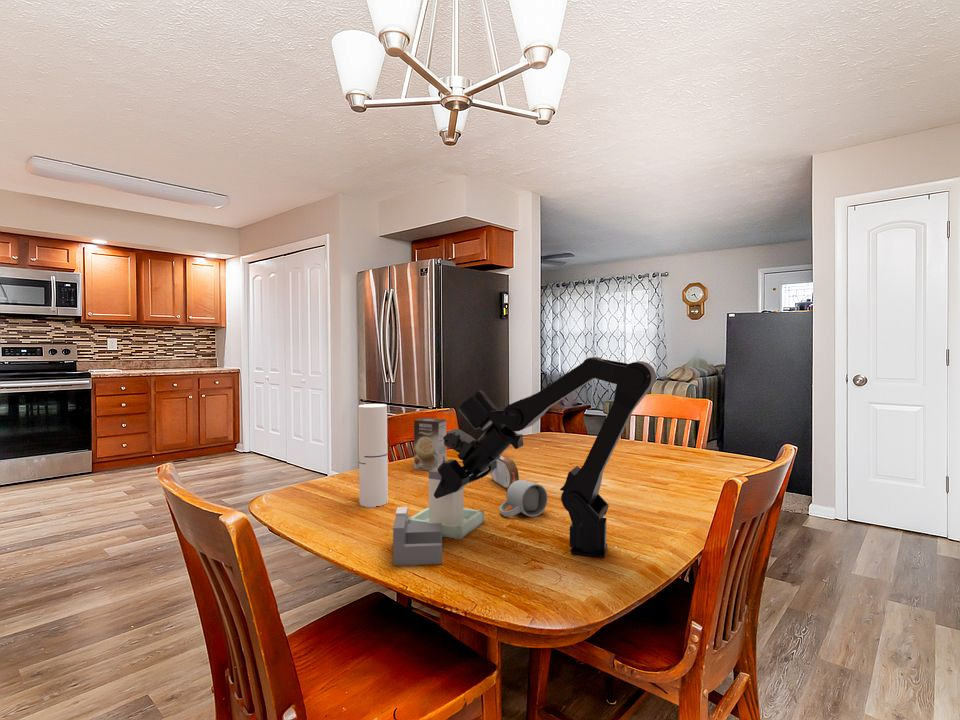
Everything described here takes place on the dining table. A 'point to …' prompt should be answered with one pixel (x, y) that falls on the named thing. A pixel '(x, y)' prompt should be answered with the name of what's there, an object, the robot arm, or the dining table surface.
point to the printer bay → (416, 541)
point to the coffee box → (429, 443)
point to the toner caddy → (444, 503)
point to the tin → (505, 472)
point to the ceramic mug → (525, 499)
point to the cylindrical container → (373, 455)
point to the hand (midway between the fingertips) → (445, 491)
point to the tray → (452, 531)
